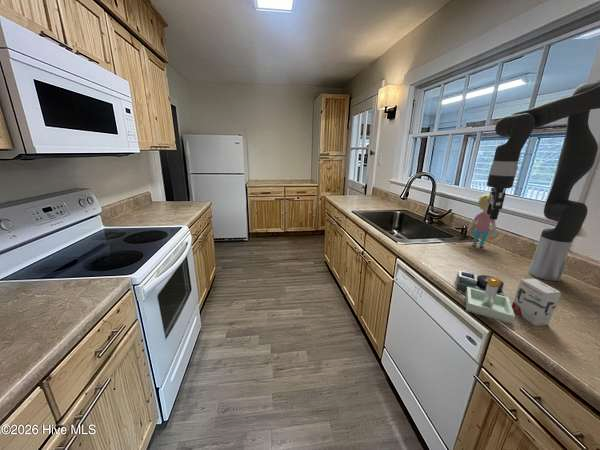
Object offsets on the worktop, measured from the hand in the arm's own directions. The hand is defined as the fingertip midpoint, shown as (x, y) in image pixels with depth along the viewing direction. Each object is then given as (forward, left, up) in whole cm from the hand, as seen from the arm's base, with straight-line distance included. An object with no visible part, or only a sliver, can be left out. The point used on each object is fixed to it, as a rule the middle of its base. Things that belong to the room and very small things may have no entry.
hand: (491, 216), depth 93 cm
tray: (-2, +22, -27) cm, 35 cm away
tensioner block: (0, +10, -27) cm, 29 cm away
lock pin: (-2, +22, -27) cm, 34 cm away
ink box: (-14, +20, -27) cm, 36 cm away
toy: (-3, -44, -27) cm, 52 cm away
